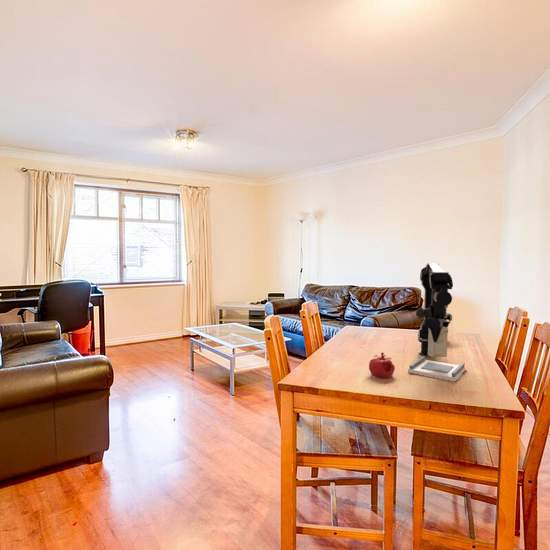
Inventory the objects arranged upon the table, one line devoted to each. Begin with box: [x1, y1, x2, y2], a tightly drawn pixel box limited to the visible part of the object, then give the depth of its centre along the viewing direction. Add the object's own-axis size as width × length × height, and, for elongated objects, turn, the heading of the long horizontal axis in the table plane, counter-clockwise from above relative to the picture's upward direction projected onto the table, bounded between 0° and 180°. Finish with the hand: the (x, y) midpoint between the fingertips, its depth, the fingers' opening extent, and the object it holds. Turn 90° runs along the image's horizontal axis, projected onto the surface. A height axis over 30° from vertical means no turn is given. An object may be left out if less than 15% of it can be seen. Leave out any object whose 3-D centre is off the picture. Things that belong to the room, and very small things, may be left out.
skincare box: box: [428, 326, 449, 359], centre depth 160 cm, size 6×4×12 cm
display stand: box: [407, 355, 467, 382], centre depth 161 cm, size 18×18×3 cm
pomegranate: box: [368, 351, 396, 379], centre depth 155 cm, size 10×10×9 cm
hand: (437, 340), depth 160 cm, fingers closed on skincare box, 7 cm apart
